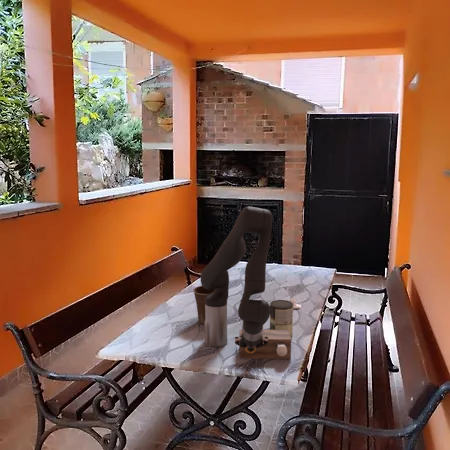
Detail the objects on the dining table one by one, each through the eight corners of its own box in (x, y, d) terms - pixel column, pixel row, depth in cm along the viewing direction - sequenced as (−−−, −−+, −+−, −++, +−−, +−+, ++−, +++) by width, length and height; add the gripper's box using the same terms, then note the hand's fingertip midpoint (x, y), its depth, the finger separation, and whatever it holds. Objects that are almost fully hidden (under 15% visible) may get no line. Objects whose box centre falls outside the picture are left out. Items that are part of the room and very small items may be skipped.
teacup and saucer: (300, 310, 247) (300, 302, 246) (285, 309, 249) (285, 301, 248) (301, 305, 256) (301, 297, 255) (286, 304, 257) (286, 296, 257)
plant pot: (197, 329, 220) (197, 295, 218) (190, 317, 236) (190, 286, 233) (231, 326, 225) (231, 292, 222) (222, 314, 240) (222, 283, 237)
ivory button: (287, 356, 185) (287, 346, 184) (276, 356, 185) (276, 346, 184) (285, 349, 191) (285, 339, 191) (275, 349, 191) (275, 339, 191)
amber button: (255, 353, 188) (255, 343, 187) (245, 353, 188) (245, 343, 187) (254, 346, 194) (254, 337, 193) (244, 346, 194) (244, 337, 193)
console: (290, 358, 190) (291, 339, 189) (240, 358, 190) (240, 339, 189) (287, 348, 200) (288, 329, 198) (239, 348, 200) (239, 329, 199)
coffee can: (265, 334, 215) (265, 303, 212) (277, 327, 223) (278, 298, 220) (284, 340, 208) (285, 308, 206) (297, 332, 216) (297, 302, 214)
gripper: (270, 321, 175) (267, 340, 189) (233, 321, 175) (233, 340, 189) (271, 340, 170) (268, 358, 184) (234, 340, 170) (233, 358, 184)
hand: (250, 349), depth 187 cm, fingers closed
